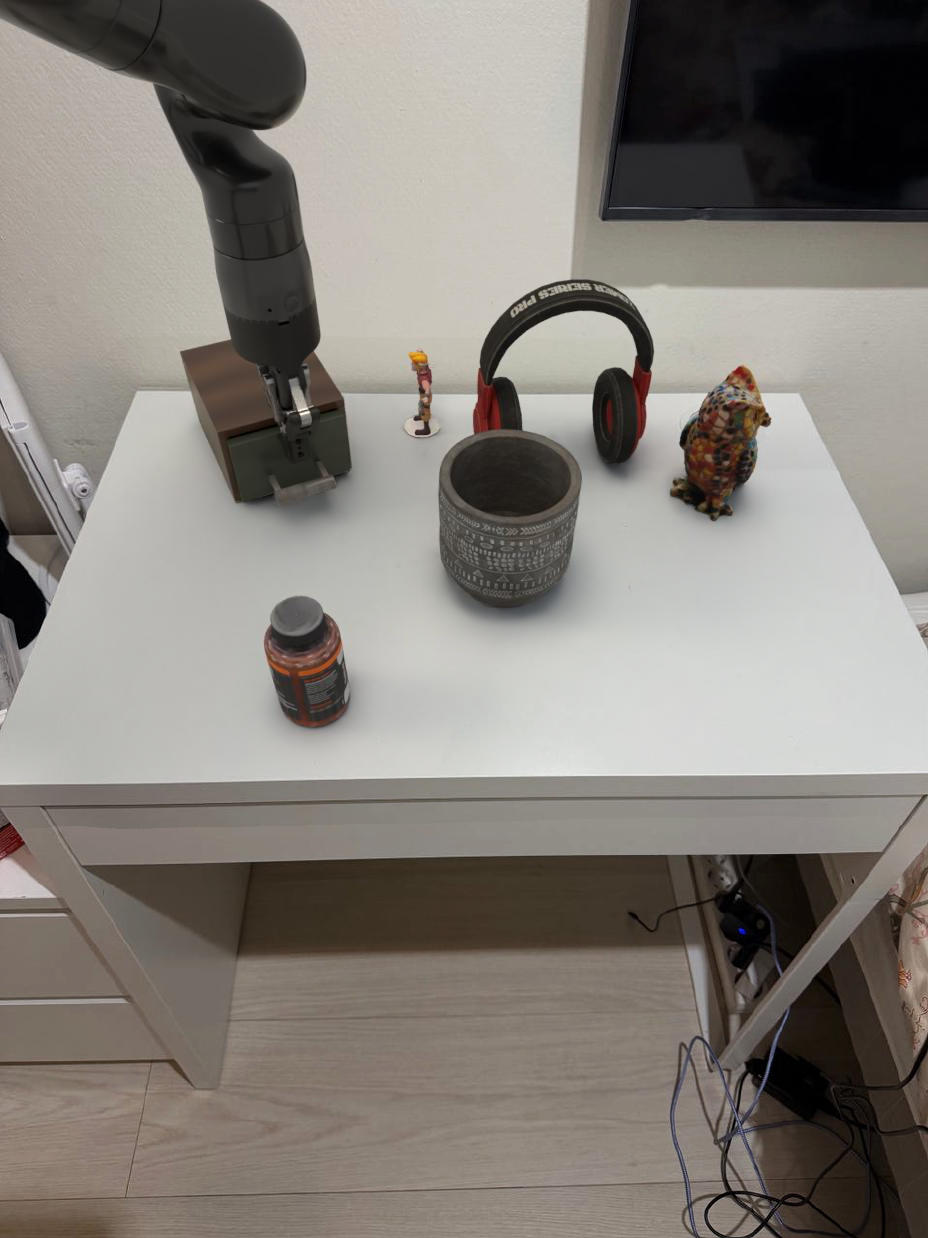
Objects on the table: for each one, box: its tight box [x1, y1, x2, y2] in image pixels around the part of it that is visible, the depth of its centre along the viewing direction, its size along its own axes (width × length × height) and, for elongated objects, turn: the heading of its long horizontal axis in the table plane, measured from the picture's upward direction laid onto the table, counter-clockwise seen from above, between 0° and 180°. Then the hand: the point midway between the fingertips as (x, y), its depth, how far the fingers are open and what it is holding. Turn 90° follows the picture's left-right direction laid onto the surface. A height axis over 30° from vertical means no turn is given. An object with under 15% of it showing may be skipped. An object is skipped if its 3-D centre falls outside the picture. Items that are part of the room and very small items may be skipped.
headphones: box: [472, 278, 655, 465], centre depth 84 cm, size 18×10×20 cm, turn 99°
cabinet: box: [179, 338, 353, 503], centre depth 90 cm, size 15×13×9 cm
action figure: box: [403, 347, 440, 438], centre depth 91 cm, size 12×3×9 cm, turn 5°
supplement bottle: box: [263, 595, 351, 728], centre depth 67 cm, size 6×6×11 cm
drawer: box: [226, 409, 351, 506], centre depth 87 cm, size 18×12×7 cm, turn 26°
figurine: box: [669, 364, 772, 522], centre depth 83 cm, size 9×9×15 cm
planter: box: [437, 429, 583, 609], centre depth 76 cm, size 12×12×13 cm
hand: (298, 457), depth 82 cm, fingers closed
